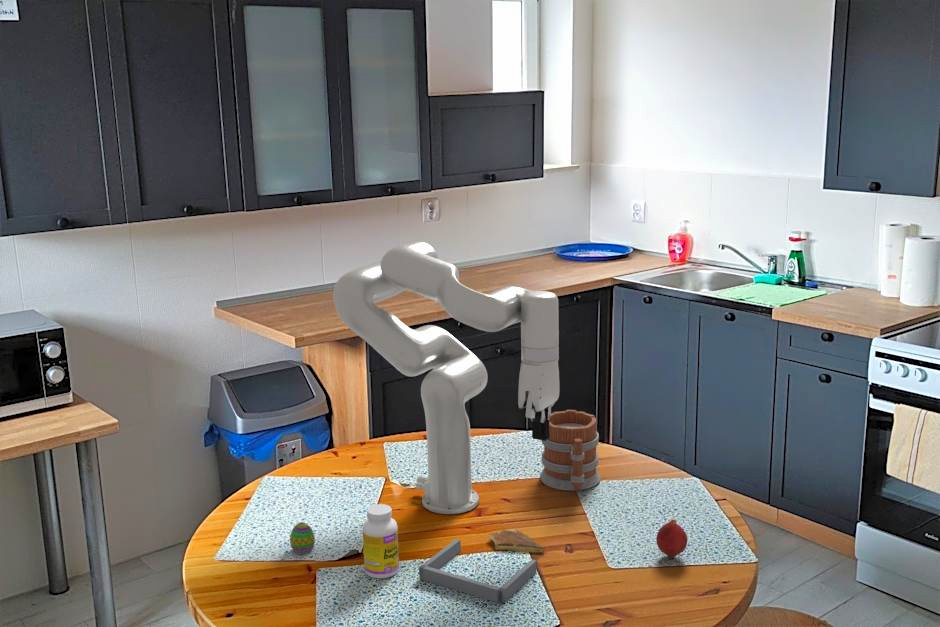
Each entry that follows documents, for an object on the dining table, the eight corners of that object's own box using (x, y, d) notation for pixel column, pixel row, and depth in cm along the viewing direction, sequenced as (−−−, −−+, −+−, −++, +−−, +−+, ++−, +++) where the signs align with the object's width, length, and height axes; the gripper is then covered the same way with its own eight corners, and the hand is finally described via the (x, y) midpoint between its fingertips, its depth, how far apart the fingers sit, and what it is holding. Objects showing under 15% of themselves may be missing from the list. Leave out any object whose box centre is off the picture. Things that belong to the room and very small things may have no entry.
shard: (545, 555, 189) (545, 546, 189) (513, 565, 185) (513, 557, 185) (515, 534, 198) (515, 526, 198) (483, 543, 194) (483, 535, 194)
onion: (668, 567, 182) (669, 528, 181) (649, 554, 187) (650, 516, 186) (692, 559, 185) (694, 521, 183) (673, 547, 190) (674, 510, 188)
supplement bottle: (385, 583, 179) (382, 520, 176) (357, 574, 183) (354, 512, 180) (406, 567, 185) (403, 506, 182) (378, 559, 188) (375, 499, 185)
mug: (594, 466, 231) (594, 407, 227) (610, 500, 212) (610, 436, 208) (536, 468, 230) (536, 409, 226) (547, 503, 211) (546, 439, 208)
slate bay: (419, 579, 180) (419, 567, 180) (456, 550, 191) (456, 538, 190) (502, 604, 171) (502, 591, 170) (536, 572, 182) (536, 560, 181)
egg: (306, 542, 196) (304, 515, 195) (320, 550, 193) (318, 522, 191) (285, 550, 193) (283, 523, 191) (300, 558, 189) (298, 530, 188)
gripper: (540, 341, 201) (541, 424, 206) (505, 359, 189) (507, 447, 193) (573, 346, 197) (573, 430, 202) (539, 364, 185) (540, 453, 189)
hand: (540, 438), depth 197 cm, fingers closed
